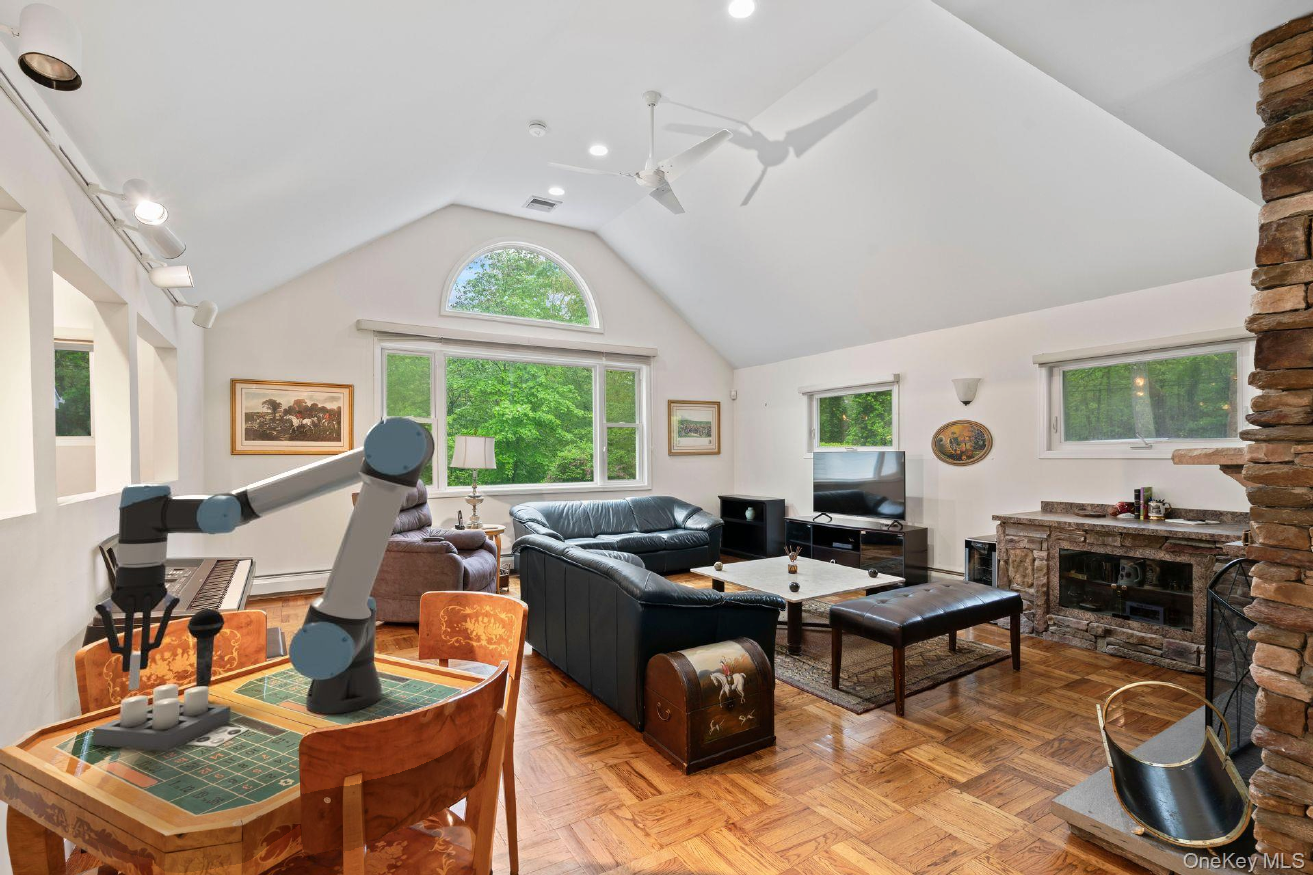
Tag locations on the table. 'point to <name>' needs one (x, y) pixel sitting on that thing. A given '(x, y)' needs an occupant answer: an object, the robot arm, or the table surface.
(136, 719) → the button
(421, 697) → the table surface
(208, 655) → the microphone
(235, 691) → the table surface
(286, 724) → the table surface
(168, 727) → the button
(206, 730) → the button board
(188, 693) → the button
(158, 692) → the button
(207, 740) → the card
